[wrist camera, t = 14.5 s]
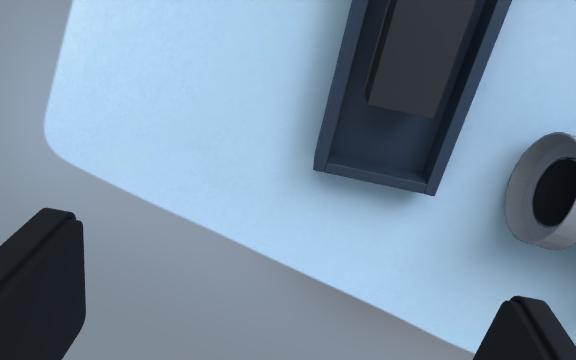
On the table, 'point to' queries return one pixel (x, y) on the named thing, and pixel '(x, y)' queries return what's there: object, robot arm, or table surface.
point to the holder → (393, 124)
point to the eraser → (416, 54)
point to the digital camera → (544, 193)
